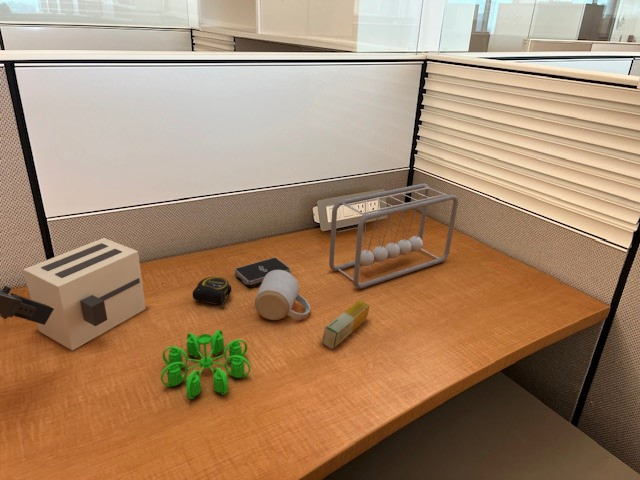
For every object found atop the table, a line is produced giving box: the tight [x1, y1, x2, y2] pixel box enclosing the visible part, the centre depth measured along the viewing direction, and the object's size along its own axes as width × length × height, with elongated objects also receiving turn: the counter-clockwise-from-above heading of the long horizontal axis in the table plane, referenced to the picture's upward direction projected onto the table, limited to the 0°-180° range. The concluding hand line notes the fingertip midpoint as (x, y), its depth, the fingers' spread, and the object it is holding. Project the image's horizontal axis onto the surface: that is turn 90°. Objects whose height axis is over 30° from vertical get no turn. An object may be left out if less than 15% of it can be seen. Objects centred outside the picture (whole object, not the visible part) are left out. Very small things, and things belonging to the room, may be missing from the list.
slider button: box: [80, 295, 107, 326], centre depth 83 cm, size 3×2×4 cm
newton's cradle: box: [328, 183, 459, 290], centre depth 113 cm, size 30×10×18 cm, turn 124°
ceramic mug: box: [254, 270, 311, 321], centre depth 95 cm, size 11×8×8 cm
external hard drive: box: [234, 257, 291, 288], centre depth 109 cm, size 7×11×2 cm, turn 126°
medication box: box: [321, 299, 371, 350], centre depth 91 cm, size 12×3×4 cm, turn 144°
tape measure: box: [192, 276, 232, 306], centre depth 100 cm, size 7×7×4 cm
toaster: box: [23, 237, 146, 351], centre depth 89 cm, size 10×16×13 cm, turn 149°
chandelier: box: [160, 329, 251, 400], centre depth 79 cm, size 15×15×7 cm
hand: (46, 315), depth 74 cm, fingers closed
